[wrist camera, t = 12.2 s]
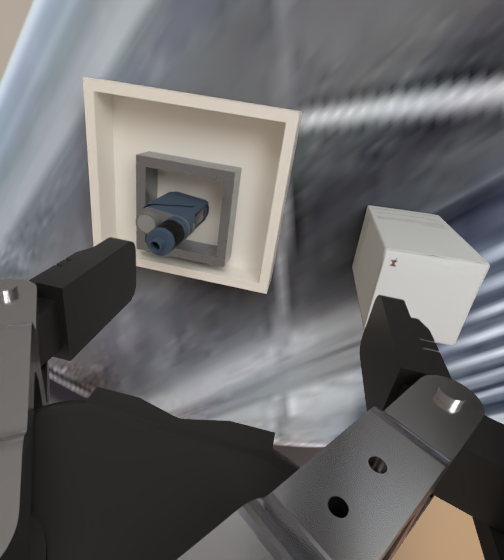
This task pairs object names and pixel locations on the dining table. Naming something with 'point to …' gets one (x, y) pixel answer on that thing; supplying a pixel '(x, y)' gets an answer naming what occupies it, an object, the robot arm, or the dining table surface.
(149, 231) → the vaping device
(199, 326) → the dining table surface
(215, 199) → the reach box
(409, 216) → the supplement box
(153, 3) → the dining table surface
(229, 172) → the inlet socket
